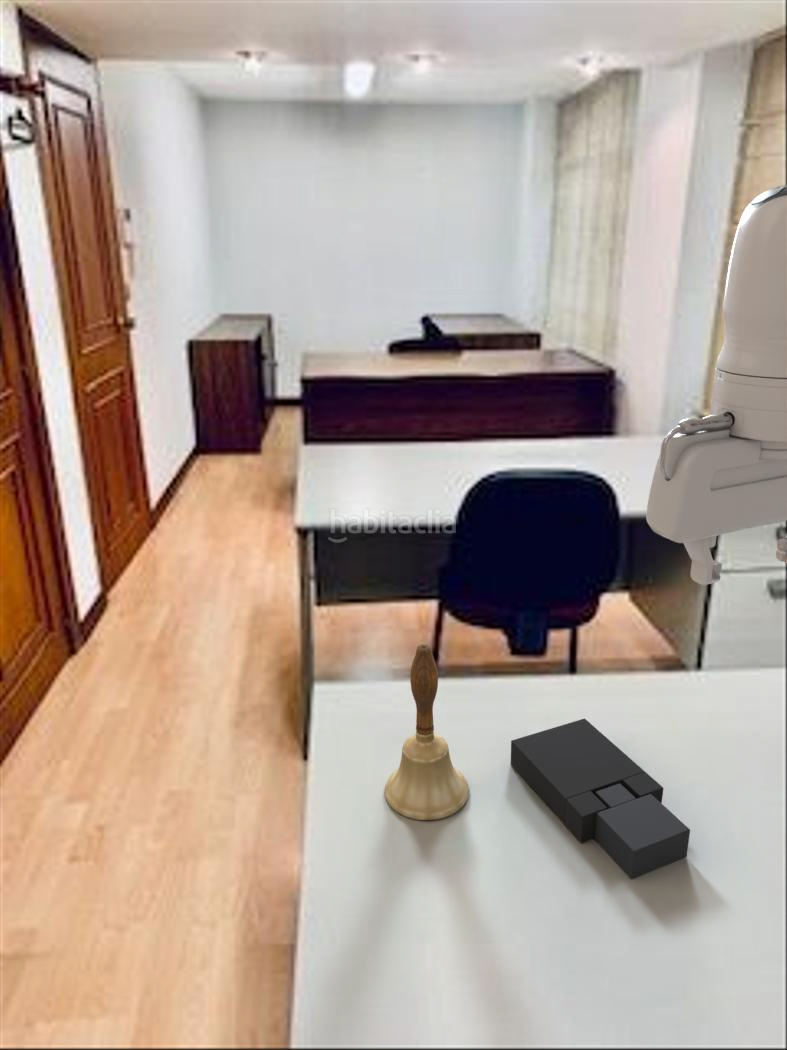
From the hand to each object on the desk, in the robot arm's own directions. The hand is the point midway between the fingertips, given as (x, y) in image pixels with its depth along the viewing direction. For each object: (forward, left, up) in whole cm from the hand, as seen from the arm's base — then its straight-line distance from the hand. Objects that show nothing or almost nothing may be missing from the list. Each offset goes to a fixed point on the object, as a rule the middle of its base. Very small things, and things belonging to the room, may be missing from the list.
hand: (748, 570), depth 63 cm
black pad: (+10, -7, -24) cm, 27 cm away
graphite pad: (+10, 0, -24) cm, 26 cm away
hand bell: (+24, -13, -24) cm, 37 cm away
